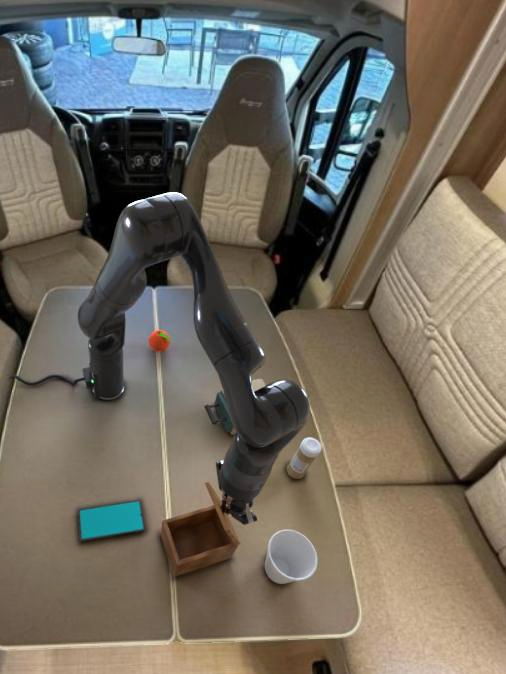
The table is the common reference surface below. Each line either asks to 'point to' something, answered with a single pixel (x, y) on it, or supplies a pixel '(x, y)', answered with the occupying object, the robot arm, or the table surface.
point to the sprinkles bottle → (304, 457)
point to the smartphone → (110, 520)
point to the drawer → (220, 412)
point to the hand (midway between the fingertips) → (227, 509)
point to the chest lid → (222, 514)
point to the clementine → (159, 340)
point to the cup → (290, 557)
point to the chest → (196, 540)
